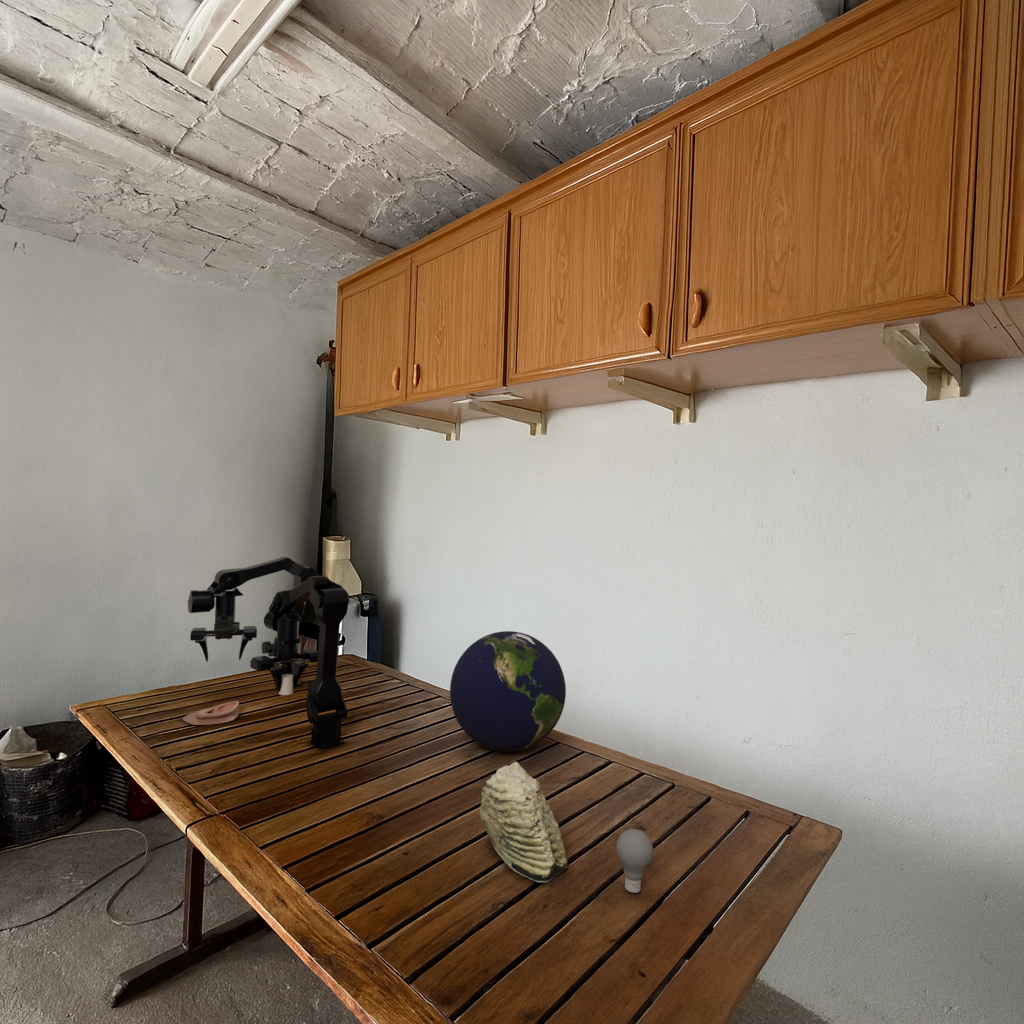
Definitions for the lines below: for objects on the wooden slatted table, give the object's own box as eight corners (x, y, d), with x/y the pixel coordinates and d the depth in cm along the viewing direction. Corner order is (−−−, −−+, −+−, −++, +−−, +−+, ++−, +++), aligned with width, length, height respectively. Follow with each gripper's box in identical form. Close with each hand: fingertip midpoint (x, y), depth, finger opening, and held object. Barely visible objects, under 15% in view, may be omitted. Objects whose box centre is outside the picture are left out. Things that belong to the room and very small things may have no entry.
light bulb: (610, 879, 108) (613, 822, 108) (644, 879, 109) (647, 822, 109) (619, 902, 102) (622, 840, 102) (655, 901, 103) (658, 840, 103)
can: (278, 691, 181) (279, 674, 181) (292, 690, 183) (293, 673, 183) (278, 695, 178) (279, 678, 178) (292, 694, 179) (293, 677, 179)
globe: (494, 719, 185) (499, 617, 185) (584, 745, 168) (589, 633, 167) (423, 749, 161) (428, 631, 160) (519, 784, 143) (525, 652, 143)
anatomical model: (175, 707, 171) (204, 695, 183) (174, 722, 172) (203, 709, 183) (218, 713, 169) (245, 700, 180) (218, 728, 169) (244, 714, 180)
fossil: (501, 827, 124) (504, 751, 124) (575, 868, 111) (578, 784, 111) (467, 843, 118) (470, 763, 118) (541, 889, 105) (545, 799, 105)
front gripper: (305, 626, 192) (303, 678, 192) (243, 634, 179) (241, 689, 179) (323, 633, 184) (321, 686, 184) (259, 641, 171) (257, 698, 171)
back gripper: (189, 616, 186) (187, 669, 186) (257, 614, 193) (256, 665, 194) (192, 609, 196) (190, 659, 197) (257, 608, 204) (255, 656, 204)
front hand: (285, 689), depth 180 cm, fingers closed on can, 4 cm apart
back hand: (223, 660), depth 197 cm, fingers open, 9 cm apart
